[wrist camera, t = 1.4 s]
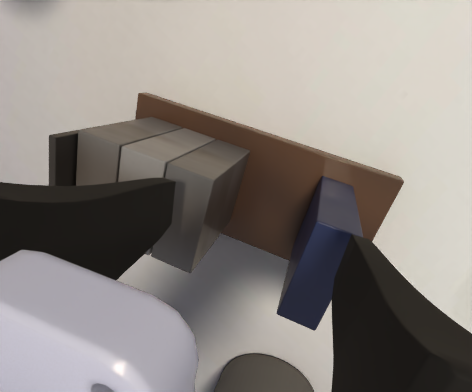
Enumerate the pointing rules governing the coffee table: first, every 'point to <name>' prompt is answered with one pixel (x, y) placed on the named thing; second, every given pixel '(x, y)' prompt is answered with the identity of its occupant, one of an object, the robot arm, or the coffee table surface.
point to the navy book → (319, 252)
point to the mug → (261, 376)
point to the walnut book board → (282, 179)
